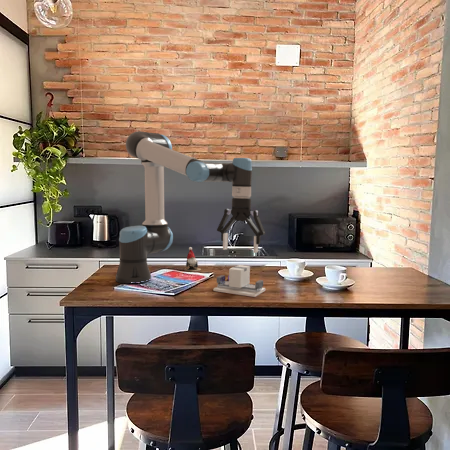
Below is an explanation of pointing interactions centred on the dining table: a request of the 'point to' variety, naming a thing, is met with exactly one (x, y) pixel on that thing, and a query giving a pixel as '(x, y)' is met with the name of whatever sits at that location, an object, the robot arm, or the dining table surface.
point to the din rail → (248, 287)
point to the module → (239, 276)
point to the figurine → (192, 261)
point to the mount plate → (239, 291)
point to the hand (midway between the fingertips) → (240, 250)
